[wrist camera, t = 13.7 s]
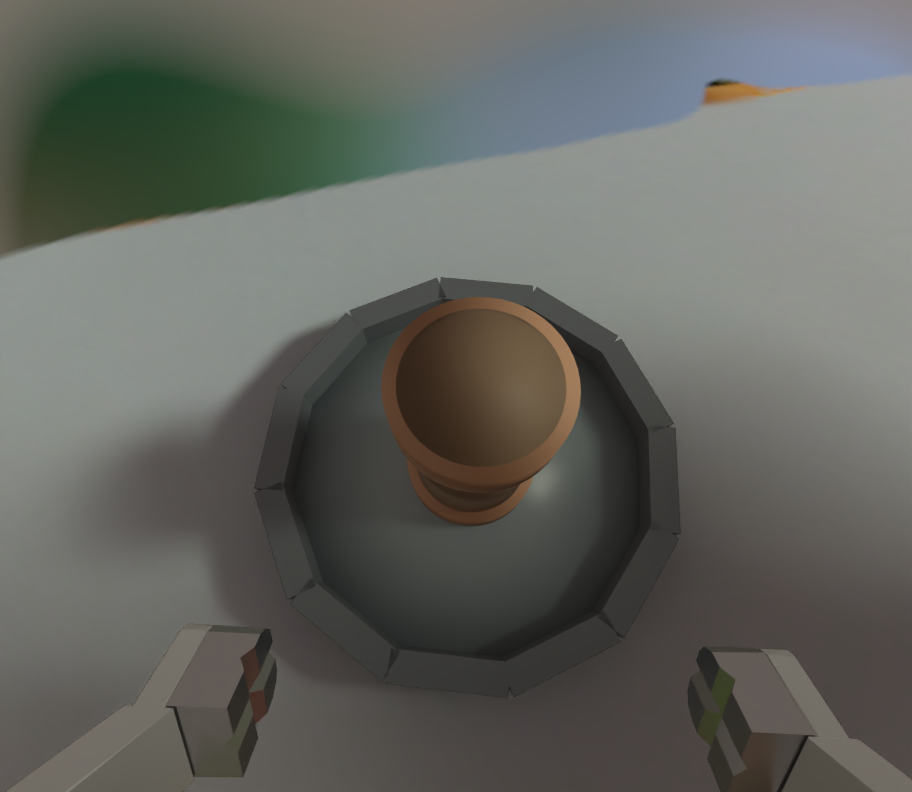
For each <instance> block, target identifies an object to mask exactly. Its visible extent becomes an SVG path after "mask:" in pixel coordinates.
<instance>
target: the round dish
mask: <svg viewBox="0 0 912 792" xmlns="http://www.w3.org/2000/svg"><path fill="white" fill-rule="evenodd" d="M469 297H490V298H497V299H502V300H506V301H510V302H513V303H516V304H518V305H521V306H524V307H526V308H527V309H529V310H531V311H533V312H535V313H536V314H538V315H539V316H541V317H542V318H544V319H545V320H546V321H547V322H548V323H549V324H551V325H552V326H553V327H554V328H555V329H556V330H557V332H558V333H559V334H560V335H561V336H562V337H563V339H564V340H565V342H566V343H567V345H568V346H569V348H570V350H571V352H572V354H573V356H574V359H575V362H576V365H577V368H578V372H579V377H580V386H581V397H580V406H579V410H578V415H577V418H576V421H575V423H574V426H573V428H572V430H571V432H570V434H569V435H568V437H567V439H566V440H565V442H564V443H563V444H562V446H561V447H560V448H559V450H558V451H557V452H556V454H555V455H554V456H553V458H552V459H551V460H550V461H549V463H548V464H547V465H546V466H545V467H544V468H543V469H542V470H541V471H540V472H538V473H537V474H536V475H534V476H533V480H532V482H531V484H530V487H529V489H528V490H527V492H526V494H525V495H524V497H523V498H522V499H521V501H520V502H519V503H518V504H517V506H516V507H515V508H514V509H513V510H512V511H511V512H510V513H508V514H507V515H506V516H504V517H503V518H501V519H499V520H497V521H495V522H492V523H490V524H486V525H482V526H473V527H471V526H460V525H455V524H452V523H449V522H447V521H445V520H442V519H440V518H439V517H437V516H436V515H434V514H433V513H432V512H431V511H430V510H428V509H427V508H426V506H425V505H424V504H423V503H422V502H421V500H420V499H419V497H418V496H417V494H416V492H415V490H414V487H413V485H412V482H411V479H410V476H409V472H408V467H407V458H406V457H405V455H404V454H403V452H402V451H401V449H400V448H399V446H398V444H397V442H396V440H395V438H394V435H393V433H392V430H391V427H390V425H389V422H388V419H387V416H386V414H385V411H384V406H383V401H382V388H381V384H382V374H383V370H384V365H385V361H386V359H387V356H388V354H389V351H390V349H391V348H392V346H393V344H394V342H395V340H396V339H397V338H398V336H399V335H400V334H401V332H402V331H403V330H404V329H405V328H406V327H407V326H408V325H409V324H410V323H411V322H412V321H413V320H415V319H416V318H417V317H418V316H420V315H421V314H423V313H424V312H426V311H428V310H429V309H431V308H433V307H436V306H438V305H440V304H442V303H446V302H449V301H452V300H456V299H462V298H469ZM350 313H351V315H352V317H351V316H350V315H348V314H347V313H345V315H344V316H343V317H342V318H341V319H340V320H339V321H338V322H337V323H336V324H335V325H334V327H333V328H332V329H331V330H330V331H329V332H328V333H327V334H326V335H325V336H324V337H323V339H322V340H321V341H320V342H319V343H318V344H317V345H316V346H315V347H314V348H313V349H312V351H311V352H310V353H309V354H308V355H307V356H306V357H305V358H304V359H303V360H302V361H301V363H300V364H299V365H298V366H297V367H296V368H295V369H294V370H293V371H292V372H291V373H290V375H289V376H288V377H287V378H286V379H285V380H284V381H283V382H282V383H281V385H282V386H283V387H284V388H285V389H283V388H279V389H278V393H277V397H276V401H275V405H274V409H273V413H272V417H271V422H270V426H269V430H268V434H267V438H266V442H265V446H264V450H263V454H262V458H261V462H260V467H259V471H258V475H257V479H256V483H255V487H254V488H256V489H257V490H259V491H258V492H255V496H256V500H257V503H258V506H259V510H260V513H261V516H262V519H263V523H264V526H265V529H266V532H267V536H268V539H269V542H270V545H271V549H272V552H273V555H274V558H275V562H276V565H277V568H278V571H279V575H280V578H281V581H282V585H283V588H284V591H285V594H286V598H287V599H293V601H292V602H291V603H290V604H291V605H292V606H293V607H294V608H295V609H297V610H298V611H299V612H300V613H301V614H302V615H304V616H305V617H306V618H307V619H308V620H309V621H311V622H312V623H313V624H314V625H315V626H316V627H318V628H319V629H320V630H321V631H322V632H324V633H325V634H326V635H327V636H328V637H329V638H331V639H332V640H333V641H334V642H335V643H336V644H338V645H339V646H340V647H341V648H342V649H343V650H345V651H346V652H347V653H348V654H349V655H351V656H352V657H353V658H354V659H355V660H356V661H358V662H359V663H360V664H361V665H362V666H363V667H365V668H366V669H367V670H368V671H369V672H370V673H372V674H373V675H374V676H375V677H376V678H377V679H379V680H380V681H382V679H383V678H384V677H385V676H386V674H387V673H388V674H387V681H386V684H393V685H401V686H410V687H418V688H427V689H435V690H444V691H452V692H461V693H469V694H477V695H486V696H494V697H503V698H508V695H509V689H510V691H511V693H512V694H513V696H514V697H515V696H517V695H519V694H521V693H523V692H525V691H527V690H529V689H531V688H532V687H534V686H536V685H538V684H540V683H542V682H544V681H546V680H548V679H550V678H552V677H554V676H556V675H557V674H559V673H561V672H563V671H565V670H567V669H569V668H571V667H573V666H575V665H577V664H579V663H581V662H582V661H584V660H586V659H588V658H590V657H592V656H594V655H596V654H598V653H600V652H602V651H604V650H606V649H607V648H609V647H611V646H613V645H615V644H617V643H619V642H621V641H620V639H619V637H618V636H620V637H624V638H625V636H626V634H627V633H628V631H629V629H630V627H631V625H632V624H633V622H634V620H635V618H636V616H637V614H638V613H639V611H640V609H641V607H642V605H643V604H644V602H645V600H646V598H647V596H648V595H649V593H650V591H651V589H652V587H653V585H654V584H655V582H656V580H657V578H658V576H659V575H660V573H661V571H662V569H663V567H664V566H665V564H666V562H667V560H668V558H669V556H670V555H671V553H672V551H673V549H674V547H675V546H676V544H677V542H678V540H679V538H678V537H677V536H675V535H676V534H680V533H681V532H680V512H679V491H678V471H677V450H676V430H675V428H672V427H670V426H671V425H672V424H674V423H673V421H672V419H671V418H670V416H669V415H668V413H667V411H666V410H665V408H664V407H663V405H662V403H661V402H660V400H659V399H658V397H657V395H656V394H655V392H654V391H653V389H652V387H651V386H650V384H649V383H648V381H647V379H646V378H645V376H644V374H643V373H642V371H641V370H640V368H639V366H638V365H637V363H636V362H635V360H634V358H633V357H632V355H631V354H630V352H629V350H628V349H627V347H626V346H625V344H624V342H623V341H622V339H620V340H618V341H616V342H615V340H616V339H617V337H618V336H617V335H616V334H614V333H612V332H611V331H609V330H608V329H606V328H604V327H603V326H601V325H599V324H598V323H596V322H594V321H593V320H591V319H589V318H588V317H586V316H584V315H583V314H581V313H579V312H578V311H576V310H574V309H573V308H571V307H569V306H568V305H566V304H564V303H563V302H561V301H559V300H558V299H556V298H554V297H553V296H551V295H549V294H548V293H546V292H544V291H543V290H541V289H540V288H538V287H537V288H536V289H535V290H534V292H533V286H531V285H520V284H509V283H498V282H487V281H476V280H465V279H455V278H444V277H441V281H440V283H439V281H438V279H437V278H435V279H432V280H430V281H427V282H424V283H422V284H419V285H416V286H414V287H411V288H408V289H406V290H403V291H400V292H398V293H395V294H392V295H390V296H387V297H384V298H382V299H379V300H376V301H374V302H371V303H368V304H366V305H363V306H360V307H358V308H355V309H352V310H350Z"/></svg>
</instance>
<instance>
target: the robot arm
mask: <svg viewBox="0 0 912 792" xmlns="http://www.w3.org/2000/svg"><path fill="white" fill-rule="evenodd" d="M271 644H272V637H271V633H270V629H264V628H250V627H236V626H222V625H204V624H187V625H186V626H185V627H184V628H183V629H182V630H181V631H180V632H179V633H178V635H177V636H176V638H175V640H174V641H173V643H172V644H171V646H170V648H169V649H168V651H167V652H166V654H165V655H164V657H163V659H162V660H161V662H160V663H159V665H158V667H157V668H156V670H155V671H154V673H153V675H152V676H151V678H150V679H149V681H148V682H147V684H146V686H145V687H144V689H143V690H142V692H141V694H140V695H139V697H138V698H137V700H136V701H135V703H134V705H133V706H123V707H122V708H120V709H119V710H118V711H116V712H115V713H114V714H112V715H111V716H109V717H108V718H107V719H105V720H104V721H102V722H101V723H100V724H98V725H97V726H96V727H94V728H93V729H91V730H90V731H89V732H87V733H86V734H85V735H83V736H82V737H80V738H79V739H78V740H76V741H75V742H73V743H72V744H71V745H69V746H68V747H67V748H65V749H64V750H62V751H61V752H60V753H58V754H57V755H56V756H54V757H53V758H51V759H50V760H49V761H47V762H46V763H44V764H43V765H42V766H40V767H39V768H38V769H36V770H35V771H33V772H32V773H31V774H29V775H28V776H26V777H25V778H24V779H22V780H21V781H20V782H18V783H17V784H15V785H14V786H13V787H11V788H10V789H9V790H7V791H6V792H183V791H184V790H185V789H186V788H187V787H188V786H189V785H190V784H191V783H192V782H193V781H194V777H243V776H244V774H245V771H246V768H247V766H248V763H249V761H250V758H251V755H252V753H253V750H254V747H255V745H256V742H257V739H258V735H257V730H256V725H255V724H256V723H257V722H258V721H259V720H260V719H261V718H263V717H264V716H265V715H266V714H267V713H268V710H269V707H270V704H271V701H272V698H273V694H274V689H275V684H276V674H277V667H276V660H275V658H274V657H273V656H272V655H271V654H270V653H269V649H270V647H271ZM696 661H697V663H698V665H699V668H700V671H698V672H697V673H696V674H694V675H693V676H692V677H691V679H690V683H689V687H688V706H689V710H690V714H691V718H692V721H693V723H694V726H695V729H696V731H697V733H698V734H699V735H700V736H701V737H702V738H703V739H704V740H705V741H706V742H707V743H708V744H709V745H710V746H711V747H710V751H709V755H708V758H707V759H708V762H709V764H710V767H711V769H712V771H713V774H714V776H715V779H716V781H717V784H718V786H719V789H720V791H721V792H912V780H911V779H910V778H909V777H907V776H906V775H905V774H904V773H902V772H901V771H900V770H898V769H897V768H896V767H894V766H893V765H892V764H890V763H889V762H888V761H886V760H885V759H884V758H883V757H881V756H880V755H879V754H877V753H876V752H875V751H873V750H872V749H871V748H869V747H868V746H867V745H865V744H864V743H863V742H862V741H860V740H859V739H852V738H849V737H848V736H847V734H846V733H845V731H844V730H843V728H842V727H841V725H840V724H839V722H838V721H837V719H836V718H835V716H834V715H833V713H832V712H831V710H830V709H829V707H828V706H827V704H826V703H825V701H824V700H823V698H822V697H821V695H820V694H819V692H818V691H817V689H816V688H815V686H814V685H813V683H812V682H811V680H810V679H809V677H808V676H807V674H806V673H805V671H804V670H803V668H802V667H801V665H800V664H799V662H798V661H797V659H796V658H795V656H794V655H793V654H792V653H790V652H789V651H788V650H776V649H756V648H735V647H703V648H702V649H701V650H700V651H699V654H698V657H697V660H696Z"/></svg>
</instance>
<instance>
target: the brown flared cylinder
mask: <svg viewBox="0 0 912 792" xmlns="http://www.w3.org/2000/svg"><path fill="white" fill-rule="evenodd" d="M381 388H382V401H383V406H384V411H385V414H386V416H387V419H388V422H389V425H390V427H391V430H392V433H393V435H394V438H395V440H396V442H397V444H398V446H399V448H400V449H401V451H402V452H403V454H404V455H405V457H406V458H407V467H408V472H409V476H410V479H411V482H412V485H413V487H414V490H415V492H416V494H417V496H418V497H419V499H420V500H421V502H422V503H423V504H424V505H425V506H426V508H427V509H428V510H430V511H431V512H432V513H433V514H434V515H436V516H437V517H439V518H440V519H442V520H445V521H447V522H449V523H452V524H455V525H460V526H471V527H473V526H482V525H486V524H490V523H492V522H495V521H497V520H499V519H501V518H503V517H504V516H506V515H507V514H508V513H510V512H511V511H512V510H513V509H514V508H515V507H516V506H517V504H518V503H519V502H520V501H521V499H522V498H523V497H524V495H525V494H526V492H527V490H528V489H529V487H530V484H531V482H532V480H533V476H534V475H536V474H537V473H538V472H540V471H541V470H542V469H543V468H544V467H545V466H546V465H547V464H548V463H549V461H550V460H551V459H552V458H553V456H554V455H555V454H556V452H557V451H558V450H559V448H560V447H561V446H562V444H563V443H564V442H565V440H566V439H567V437H568V435H569V434H570V432H571V430H572V428H573V426H574V423H575V421H576V418H577V415H578V410H579V406H580V397H581V386H580V377H579V372H578V368H577V365H576V362H575V359H574V356H573V354H572V352H571V350H570V348H569V346H568V345H567V343H566V342H565V340H564V339H563V337H562V336H561V335H560V334H559V333H558V332H557V330H556V329H555V328H554V327H553V326H552V325H551V324H549V323H548V322H547V321H546V320H545V319H544V318H542V317H541V316H539V315H538V314H536V313H535V312H533V311H531V310H529V309H527V308H526V307H524V306H521V305H518V304H516V303H513V302H510V301H506V300H502V299H497V298H490V297H469V298H462V299H456V300H452V301H449V302H446V303H442V304H440V305H438V306H436V307H433V308H431V309H429V310H428V311H426V312H424V313H423V314H421V315H420V316H418V317H417V318H416V319H415V320H413V321H412V322H411V323H410V324H409V325H408V326H407V327H406V328H405V329H404V330H403V331H402V332H401V334H400V335H399V336H398V338H397V339H396V340H395V342H394V344H393V346H392V348H391V349H390V351H389V354H388V356H387V359H386V361H385V365H384V370H383V374H382V384H381Z"/></svg>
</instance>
